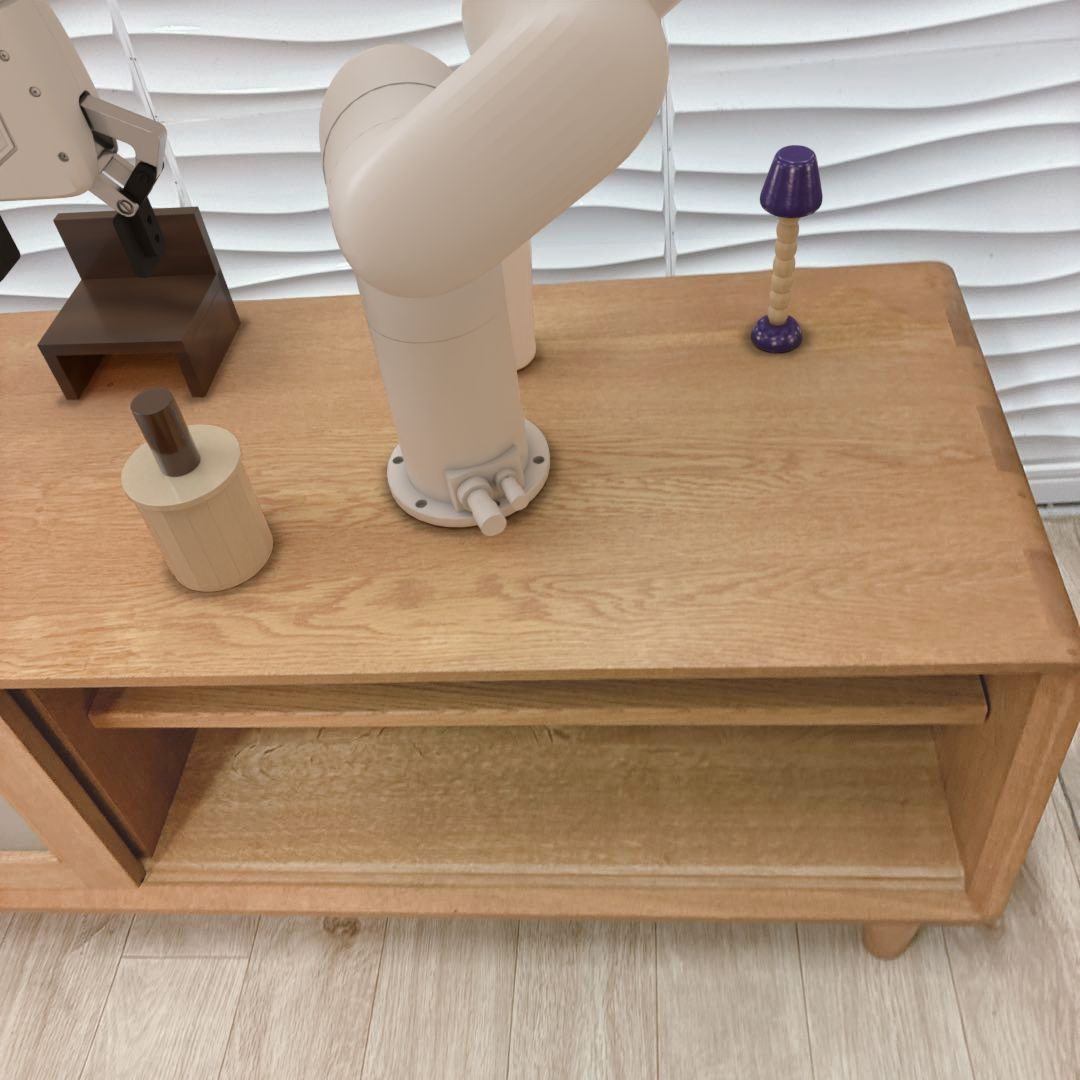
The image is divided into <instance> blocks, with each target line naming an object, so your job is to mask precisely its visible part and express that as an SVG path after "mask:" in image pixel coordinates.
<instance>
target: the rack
mask: <svg viewBox="0 0 1080 1080" xmlns="http://www.w3.org/2000/svg"><path fill="white" fill-rule="evenodd" d="M152 209H153V211H154V213H155V216H156V218H157V221H158V223H159V226H160V228H161V230H162V233H163V235H164V238H165V242H166V248H165V254H164V255H163V257H162V259H161V260H160V262H159V263H158V265H157V267H156V268H155V270H154V271H153V273H152V274H151V276H150V277H149V278H139V277H138V276H136V275H135V273H134V270H133V268H132V266H131V264H130V261H129V259H128V257H127V255H126V253H125V250H124V248H123V246H122V244H121V241H120V239H119V237H118V235H117V232H116V230H115V228H114V226H113V218H114V217H115V215H116V214H117V213H118V212H117V211H116V210H97V211H77V212H76V211H75V212H59V213H57V214H56V216H55V217H54V218H53V219H52V221H53V224H54V226H55V227H56V228H55V229H56V230H57V232H58V234H59V236H60V238H61V240H62V243H63V244H64V245H63V246H64V247H65V249H66V251H67V253H68V255H69V257H70V259H71V261H72V264H73V266H74V267H75V269H76V271H77V273H78V276H79V278H80V281H79V282H78V283H77V285H76V287H75V288H74V289H73V291H72V292H71V294H70V296H69V297H68V299H66V301H65V303H64V304H63V306H62V307H61V308H60V310H59V312H58V313H57V314H56V316H55V318H54V319H53V320H52V322H51V323H50V325H49V326H48V328H47V330H46V331H45V333H44V334H43V335H42V337H41V338H40V340H39V341H38V343H37V345H36V346H37V348H38V350H39V351H40V353H41V355H42V357H43V359H44V360H45V362H46V364H47V367H48V368H49V370H50V372H51V373H52V375H53V377H54V379H55V381H56V384H58V387H59V388H60V390H61V392H62V394H63V395H64V398H65V399H66V401H68V400H70V401H71V400H80V398H81V397H82V395H83V393H84V391H85V390H86V388H87V387H88V385H89V383H90V381H91V380H92V378H93V376H94V375H95V373H96V371H98V368H99V367H100V365H101V363H102V362H103V360H104V358H105V357H106V355H125V354H127V355H128V354H130V355H131V354H161V353H173V355H174V359H175V360H176V363H177V365H178V367H179V370H180V372H181V374H182V376H183V379H184V381H185V383H186V385H187V388H188V390H189V392H190V395H191V397H192V398H199V397H201V398H203V397H206V395H207V393H208V391H209V389H210V387H211V385H212V383H213V381H214V379H215V377H216V375H217V373H218V370H219V369H220V366H221V364H222V362H223V360H224V357H225V356H226V353H227V352H228V350H229V347H230V345H231V344H232V341H233V339H234V337H235V335H236V333H237V330H238V329H239V326H240V324H241V320H240V316H239V314H238V312H237V308H236V306H235V303H234V301H233V298H232V295H231V292H230V290H229V286H228V284H227V281H226V278H225V276H224V272H223V270H222V268H221V267H222V266H221V265H220V262H219V260H218V256H217V253H216V251H215V249H214V246H213V243H212V240H211V237H210V235H209V232H208V229H207V227H206V223H205V221H204V218H203V216H202V213H201V211H200V208H199V206H179V207H177V206H176V207H159V208H156V207H155V208H152Z"/></svg>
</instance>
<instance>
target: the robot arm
mask: <svg viewBox="0 0 1080 1080" xmlns="http://www.w3.org/2000/svg"><path fill="white" fill-rule="evenodd" d="M682 1H683V0H462V2H461V23H462V29H463V36H464V40H465V43H466V47H467V50H468V53H469V55H470V56H469V57H468V58H467V59H465V61H463V62H462V63H461V65H459V66H458V67H457V68H456V69H455V70H454V71H453V70H452V69H451V67H449V66H448V65H447V64H446V63H445V62H444V61H443V60H441V59H440V58H438V57H437V56H435V55H434V54H433V53H430V52H428V51H427V50H424V49H422V48H420V47H416V46H413V45H407V44H402V43H389V44H388V43H387V44H380V45H376V46H373V47H369V48H367V49H365V50H362V51H360V52H359V53H357V54H355V55H354V56H353V57H351V58H350V59H348V61H346V62H345V63H344V64H343V65H342V66H341V67H340V68H339V69H338V71H337V72H336V73H335V75H334V76H333V78H332V80H331V81H330V83H329V85H328V87H327V90H326V91H325V94H324V97H323V101H322V104H321V108H320V113H319V121H318V139H319V140H318V141H319V148H320V151H319V152H320V157H321V158H320V159H321V166H322V173H323V179H324V184H325V188H326V192H327V194H326V195H327V201H328V211H329V217H330V222H331V226H332V230H333V233H334V237H335V240H336V243H337V245H338V247H339V250H340V252H341V254H342V256H343V257H344V259H345V260H346V262H347V264H348V265H349V266H350V268H351V269H352V270H353V273H354V276H355V281H356V284H357V289H358V292H359V297H360V301H361V303H362V307H363V312H364V316H365V320H366V324H367V329H368V332H369V336H370V339H371V343H372V347H373V351H374V355H375V359H376V362H377V366H378V370H379V373H380V377H381V380H382V384H383V388H384V392H385V396H386V399H387V403H388V407H389V411H390V414H391V419H392V422H393V426H394V430H395V434H396V437H397V440H398V443H397V445H396V446H395V448H394V449H393V451H392V452H391V454H390V457H389V459H388V461H387V470H386V477H387V483H388V486H389V490H390V492H391V495H392V498H393V499H394V501H395V503H396V504H397V505H398V507H400V508H401V509H402V510H403V511H404V512H405V513H406V514H408V515H409V516H411V517H413V518H415V519H416V520H418V521H421V522H423V523H427V524H430V525H433V526H439V527H446V528H468V527H476V526H478V527H479V530H480V531H481V533H482V534H483V535H484V536H486V537H494V536H497V535H499V534H500V533H502V532H503V531H504V530H505V528H506V527H507V524H508V520H507V518H506V517H509V516H511V515H512V514H514V513H516V512H518V511H522V510H523V509H526V508H527V507H528V506H529V503H530V502H532V501H533V500H534V498H536V496H537V495H538V494H539V493H540V491H541V490H542V489H543V487H544V486H545V483H546V482H547V480H548V478H549V475H550V469H551V454H550V448H549V444H548V441H547V439H546V437H545V435H544V433H543V432H542V431H541V430H540V429H539V427H538V426H537V425H536V424H534V423H533V422H531V421H530V420H528V419H527V418H526V417H524V411H523V410H524V409H523V403H522V397H521V390H520V384H519V377H518V370H516V363H515V356H514V350H513V343H512V336H511V330H510V323H509V316H508V310H507V303H506V296H505V285H504V278H503V271H502V265H501V261H502V260H504V259H505V258H506V257H508V256H509V255H510V254H511V253H513V252H514V251H515V250H516V249H518V248H519V247H520V246H521V245H523V244H524V243H525V242H527V241H528V240H529V239H530V238H531V239H532V238H533V237H534V236H535V235H537V234H538V233H539V232H540V231H542V230H543V229H545V228H546V227H547V226H548V225H549V224H551V223H552V222H553V221H554V220H556V219H557V218H558V217H559V216H560V215H562V214H563V213H564V212H566V211H567V210H568V209H569V208H571V207H572V206H573V205H574V204H575V203H577V202H578V201H579V200H581V199H582V198H583V197H584V196H585V195H587V194H588V193H589V192H590V191H592V190H593V189H594V188H595V187H597V186H598V185H599V184H600V183H602V182H603V181H604V180H605V179H606V178H607V177H609V176H610V175H611V174H612V173H613V172H614V171H615V170H617V169H618V168H619V167H620V166H621V165H622V164H623V163H624V162H625V161H627V159H628V158H629V157H630V156H631V155H632V154H633V152H634V151H635V150H636V149H637V148H638V146H639V145H640V144H641V143H642V141H643V139H644V138H645V137H646V135H647V134H648V132H649V131H650V129H651V127H652V126H653V124H654V122H655V120H656V118H657V116H658V114H659V112H660V110H661V108H662V105H663V102H664V99H665V95H666V92H667V89H668V82H669V75H670V55H669V53H670V52H669V47H668V42H667V38H666V35H665V31H664V28H663V25H662V23H661V21H662V19H664V17H665V16H667V14H669V13H670V12H671V11H672V10H673V9H674V8H676V6H678V4H680V3H681V2H682ZM167 138H168V130H167V128H166V126H164V124H163V123H161V122H160V121H156V120H154V119H152V118H150V117H147V116H145V115H141V114H139V113H137V112H134V111H131V110H129V109H126V108H124V107H122V106H119V105H116V104H114V103H111V102H109V101H106V100H103V99H101V97H100V95H99V93H98V90H97V88H96V86H95V83H94V82H93V80H92V78H91V76H90V74H89V73H88V70H87V68H86V66H85V64H84V63H83V60H82V58H81V56H80V55H79V53H78V51H77V49H76V47H75V45H74V44H73V41H72V40H71V38H70V36H69V35H68V32H67V31H66V30H65V27H64V26H63V24H62V22H61V21H60V19H59V17H58V16H57V14H56V12H55V11H54V9H53V8H52V6H51V5H50V3H49V2H48V0H0V202H17V201H18V202H19V201H21V202H22V201H37V200H38V201H39V200H55V199H66V198H68V199H69V198H74V197H78V196H81V195H83V194H85V193H87V192H90V193H91V194H92V195H93V196H95V197H97V198H98V199H99V200H101V201H102V202H103V203H105V204H106V205H107V206H109V207H110V208H111V209H113V211H115V210H116V211H117V212H118V213H117V214H116V215H115V217H114V218H113V226H114V228H115V230H116V232H117V235H118V237H119V239H120V241H121V244H122V246H123V248H124V250H125V253H126V255H127V257H128V259H129V261H130V264H131V266H132V268H133V270H134V273H135V275H136V276H138V277H139V278H149V277H150V276H151V274H152V273H153V271H154V270H155V268H156V267H157V265H158V263H159V262H160V260H161V259H162V257H163V255H164V254H165V248H166V242H165V238H164V235H163V233H162V230H161V228H160V226H159V223H158V221H157V218H156V216H155V213H154V211H153V209H154V208H153V206H152V204H151V201H150V199H149V195H150V194H151V192H152V191H153V188H154V186H155V184H156V183H157V181H158V179H159V178H160V176H161V174H162V172H163V170H164V169H165V162H164V158H165V155H166V148H167V146H166V145H167ZM118 141H120V142H122V143H125V144H127V145H129V146H130V147H131V148H132V149H133V151H134V153H135V158H134V160H135V165H134V164H132V163H131V162H129V161H128V160H126V159H125V158H124V157H123V156H122V155H120V154H118V152H119V144H118ZM103 172H105V173H106V174H107V175H109V176H110V177H108V176H107V175H106V174H105V173H103ZM111 178H113V179H114V180H115V181H117V182H118V183H119V184H120V185H122V186H123V187H122V186H120V185H119V184H118V183H116V182H115V181H114V180H112V179H111ZM21 255H22V254H21V251H20V249H19V248H18V245H17V244H16V242H15V240H14V239H13V236H12V234H11V233H10V230H9V229H8V226H7V225H6V223H5V221H4V220H3V217H2V215H1V214H0V283H1V282H2V281H4V279H5V278H6V277H7V275H8V274H9V273H10V272H11V270H12V269H13V268H14V266H15V265H16V264H17V263H18V261H20V259H21Z"/></svg>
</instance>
